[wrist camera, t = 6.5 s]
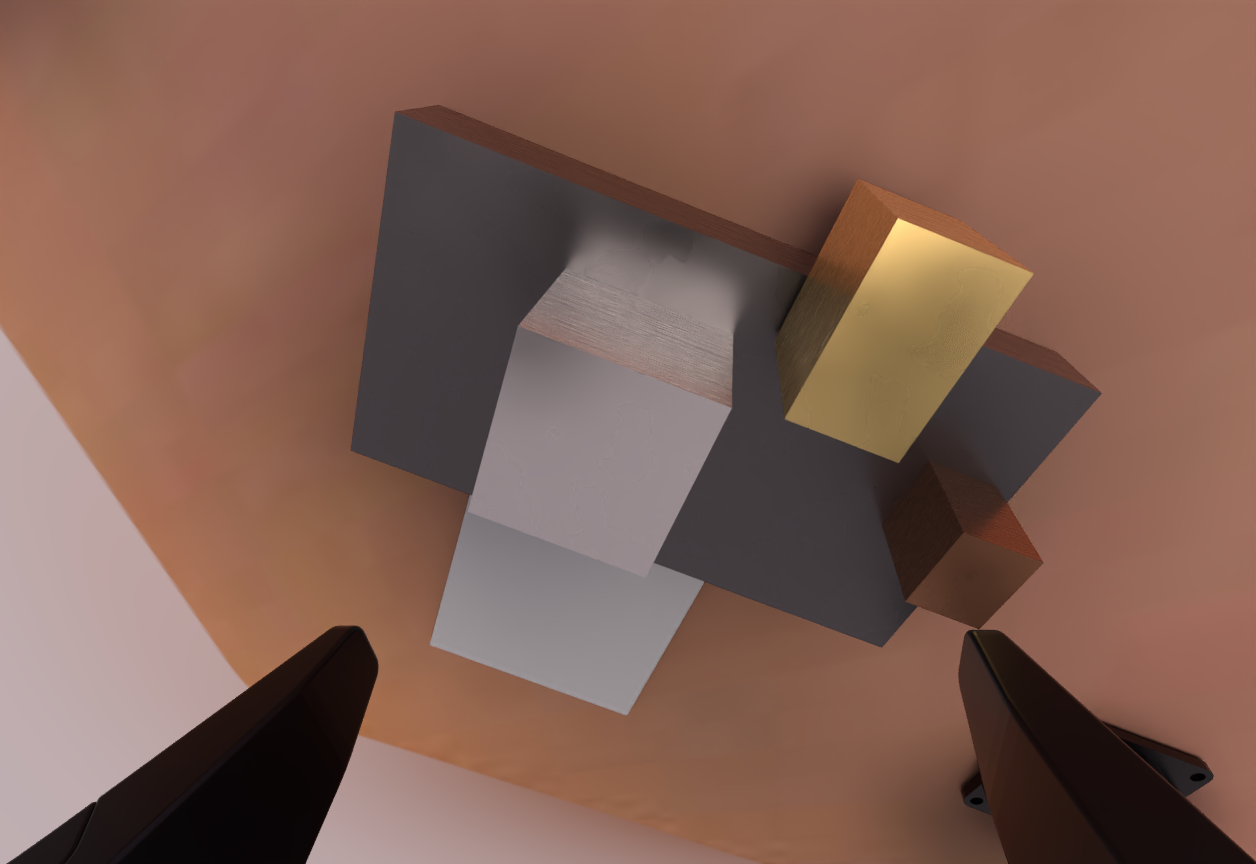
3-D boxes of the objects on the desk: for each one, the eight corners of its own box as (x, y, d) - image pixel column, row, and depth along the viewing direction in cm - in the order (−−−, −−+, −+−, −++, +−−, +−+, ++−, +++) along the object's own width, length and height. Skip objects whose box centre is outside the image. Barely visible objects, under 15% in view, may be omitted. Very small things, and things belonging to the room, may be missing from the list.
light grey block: (733, 333, 16) (731, 408, 13) (662, 482, 19) (645, 578, 15) (565, 268, 16) (518, 325, 12) (517, 428, 18) (467, 511, 15)
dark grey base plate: (1057, 352, 18) (1174, 459, 13) (868, 592, 23) (902, 730, 18) (439, 105, 17) (321, 122, 12) (388, 412, 22) (293, 508, 17)
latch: (959, 220, 14) (1033, 273, 10) (863, 375, 16) (898, 462, 12) (857, 178, 14) (898, 218, 10) (774, 340, 16) (784, 418, 12)
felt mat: (708, 567, 23) (708, 575, 23) (628, 707, 28) (626, 715, 28) (475, 480, 23) (471, 487, 22) (433, 637, 27) (429, 644, 27)
